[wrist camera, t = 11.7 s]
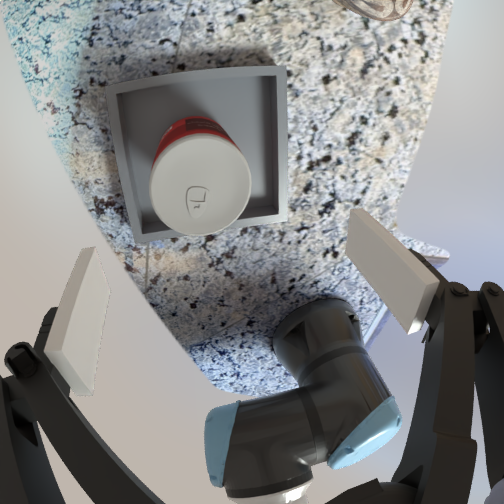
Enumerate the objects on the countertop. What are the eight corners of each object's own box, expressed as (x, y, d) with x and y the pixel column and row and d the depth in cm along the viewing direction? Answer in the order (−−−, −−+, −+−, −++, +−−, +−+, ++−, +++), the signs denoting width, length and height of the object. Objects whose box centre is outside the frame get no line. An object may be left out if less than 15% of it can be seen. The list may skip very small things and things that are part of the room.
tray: (279, 209, 38) (287, 221, 35) (138, 230, 35) (135, 243, 33) (277, 65, 28) (286, 65, 26) (111, 84, 26) (104, 86, 23)
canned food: (164, 193, 33) (160, 245, 24) (151, 122, 28) (137, 146, 19) (234, 181, 34) (256, 227, 25) (226, 109, 29) (248, 127, 20)
